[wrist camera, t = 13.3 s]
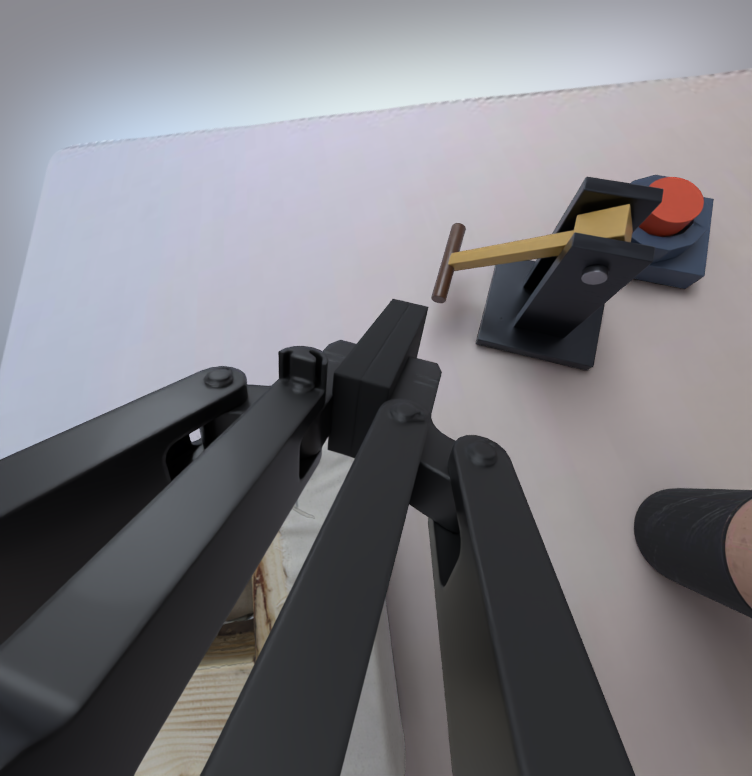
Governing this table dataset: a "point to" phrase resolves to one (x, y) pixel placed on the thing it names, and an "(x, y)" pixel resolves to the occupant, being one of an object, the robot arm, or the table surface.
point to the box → (246, 639)
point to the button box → (677, 248)
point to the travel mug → (701, 541)
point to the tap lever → (528, 245)
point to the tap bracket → (568, 282)
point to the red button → (674, 207)
